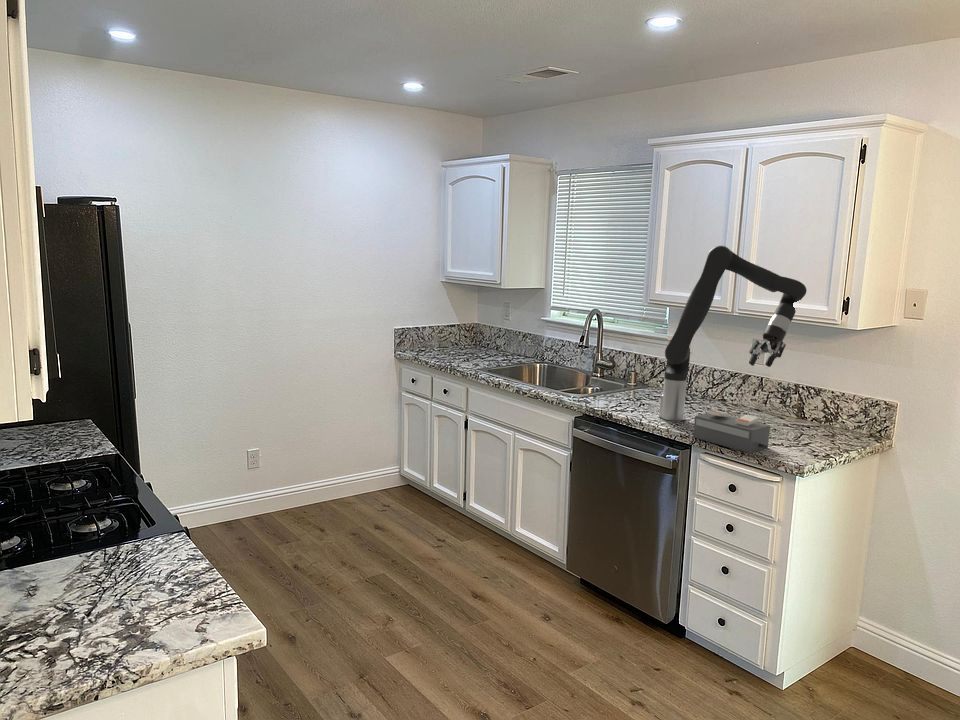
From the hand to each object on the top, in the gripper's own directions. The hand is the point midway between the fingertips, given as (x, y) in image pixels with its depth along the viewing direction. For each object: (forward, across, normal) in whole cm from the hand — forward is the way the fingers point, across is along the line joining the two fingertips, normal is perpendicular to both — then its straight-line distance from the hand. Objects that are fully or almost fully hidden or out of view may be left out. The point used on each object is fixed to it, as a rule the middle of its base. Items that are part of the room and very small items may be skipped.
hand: (759, 365), depth 274 cm
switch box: (+32, +1, +4) cm, 32 cm away
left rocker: (+24, -4, -4) cm, 24 cm away
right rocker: (+23, +7, 0) cm, 24 cm away
